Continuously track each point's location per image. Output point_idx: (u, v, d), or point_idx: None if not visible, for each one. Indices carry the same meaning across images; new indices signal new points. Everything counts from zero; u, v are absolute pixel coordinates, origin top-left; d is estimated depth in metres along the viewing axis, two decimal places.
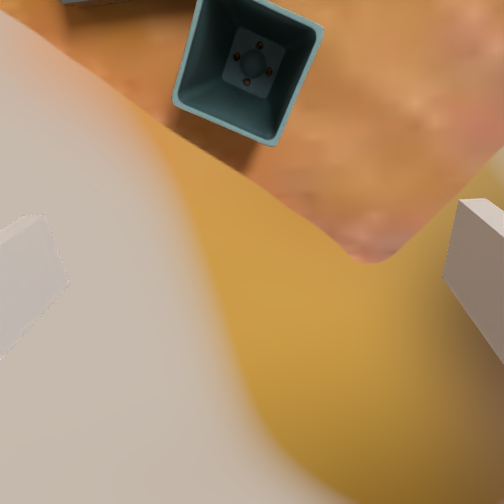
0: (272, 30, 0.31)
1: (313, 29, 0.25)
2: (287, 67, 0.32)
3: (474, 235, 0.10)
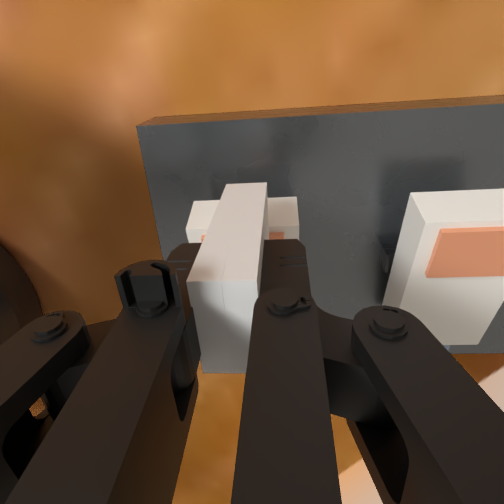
0: None
1: None
2: None
3: None
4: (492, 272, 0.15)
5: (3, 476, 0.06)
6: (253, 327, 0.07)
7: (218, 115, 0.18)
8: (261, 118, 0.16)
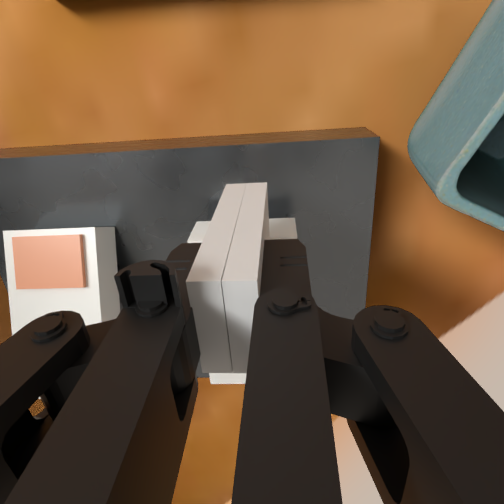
0: None
1: None
2: None
3: None
4: None
5: (1, 476, 0.06)
6: (254, 327, 0.07)
7: (45, 149, 0.19)
8: (68, 154, 0.17)
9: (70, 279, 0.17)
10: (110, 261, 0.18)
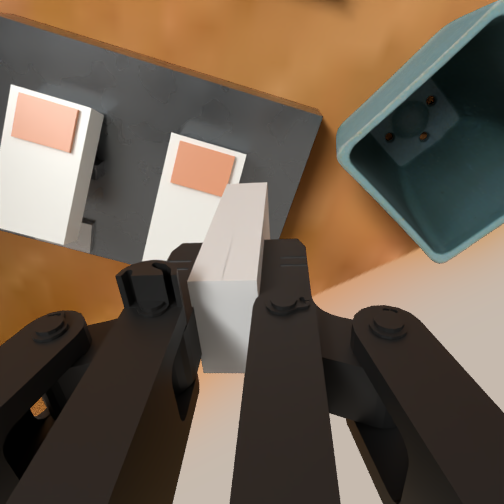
0: None
1: (496, 17, 0.14)
2: (451, 73, 0.22)
3: None
4: (213, 190, 0.21)
5: (3, 477, 0.06)
6: (252, 327, 0.07)
7: (62, 31, 0.22)
8: (85, 43, 0.21)
9: (59, 142, 0.20)
10: (93, 141, 0.22)
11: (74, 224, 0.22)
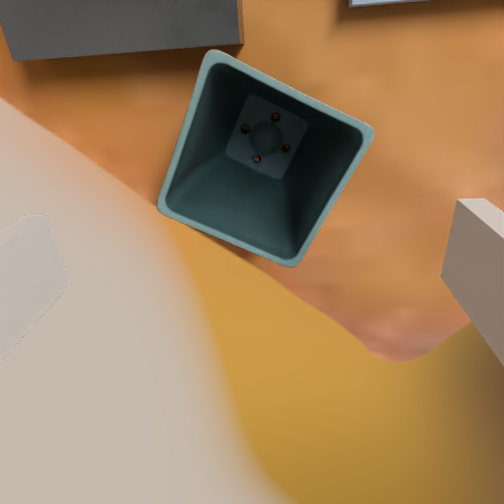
0: (294, 104, 0.24)
1: (359, 130, 0.17)
2: (311, 148, 0.25)
3: (472, 234, 0.10)
4: None
5: None
6: None
7: None
8: None
9: None
10: None
11: None
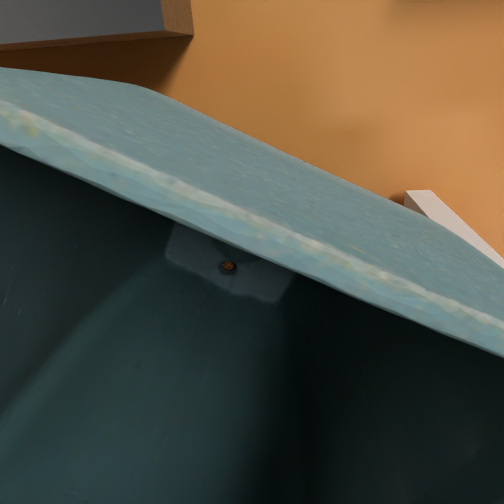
0: None
1: None
2: None
3: None
4: None
5: None
6: None
7: None
8: None
9: None
10: None
11: None
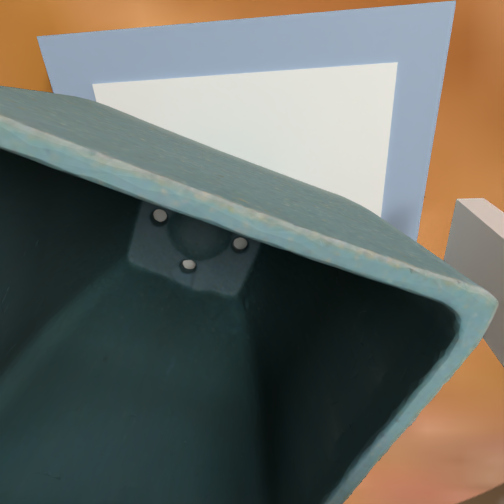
0: None
1: (450, 307, 0.05)
2: (286, 251, 0.13)
3: (472, 234, 0.10)
4: None
5: None
6: None
7: None
8: None
9: None
10: None
11: None
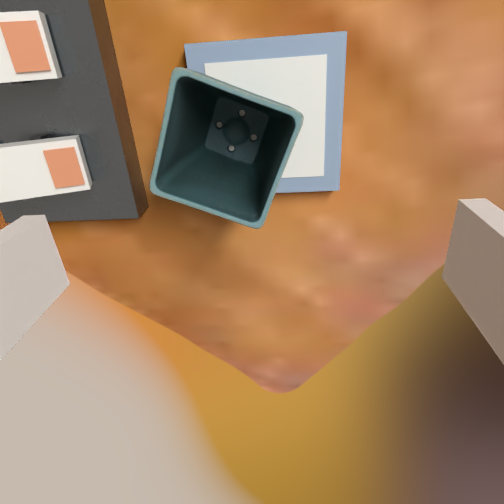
0: (253, 101, 0.30)
1: (291, 116, 0.23)
2: (271, 135, 0.31)
3: (474, 235, 0.10)
4: (55, 179, 0.31)
5: None
6: None
7: (103, 23, 0.30)
8: (100, 54, 0.29)
9: (18, 63, 0.27)
10: None
11: None
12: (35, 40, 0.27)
